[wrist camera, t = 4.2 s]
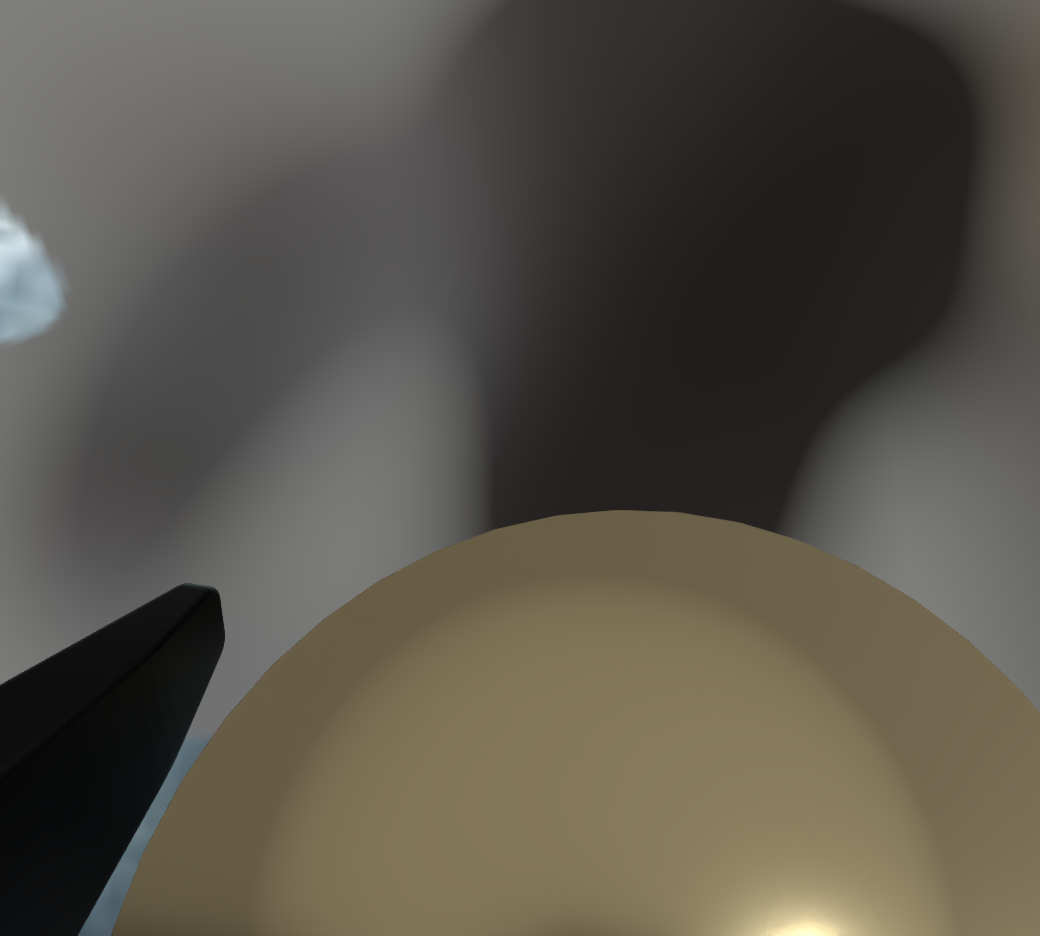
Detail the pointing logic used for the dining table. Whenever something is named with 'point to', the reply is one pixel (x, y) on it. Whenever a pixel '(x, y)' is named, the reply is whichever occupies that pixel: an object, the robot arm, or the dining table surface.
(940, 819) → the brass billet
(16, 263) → the dining table surface
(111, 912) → the dining table surface
